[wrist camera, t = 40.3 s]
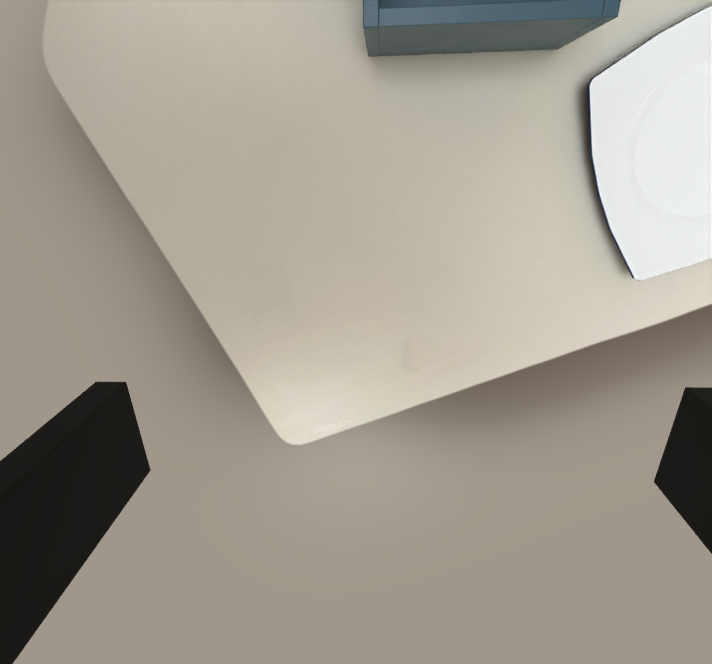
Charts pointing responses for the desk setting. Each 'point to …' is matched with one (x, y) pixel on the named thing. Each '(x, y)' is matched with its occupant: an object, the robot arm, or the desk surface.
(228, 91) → the desk surface
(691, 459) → the robot arm
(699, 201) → the plate
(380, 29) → the chest
